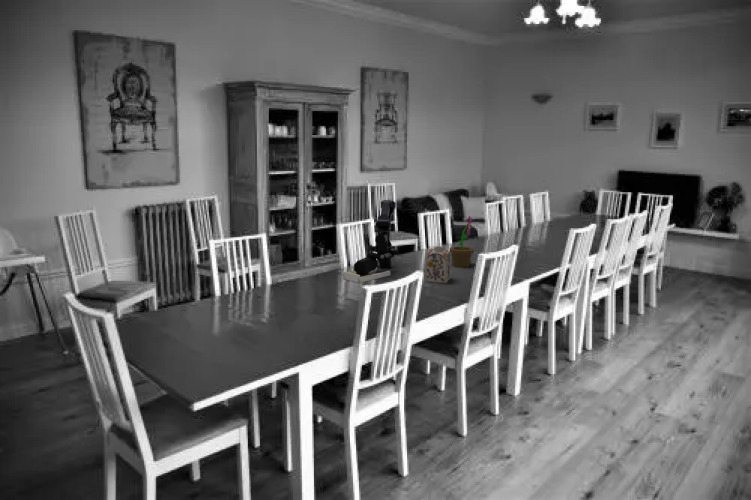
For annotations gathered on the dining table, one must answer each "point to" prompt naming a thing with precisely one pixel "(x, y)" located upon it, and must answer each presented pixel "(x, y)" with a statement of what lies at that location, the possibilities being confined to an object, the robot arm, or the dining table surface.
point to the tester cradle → (356, 278)
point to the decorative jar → (438, 265)
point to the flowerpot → (462, 250)
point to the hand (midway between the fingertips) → (382, 269)
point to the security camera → (365, 266)
